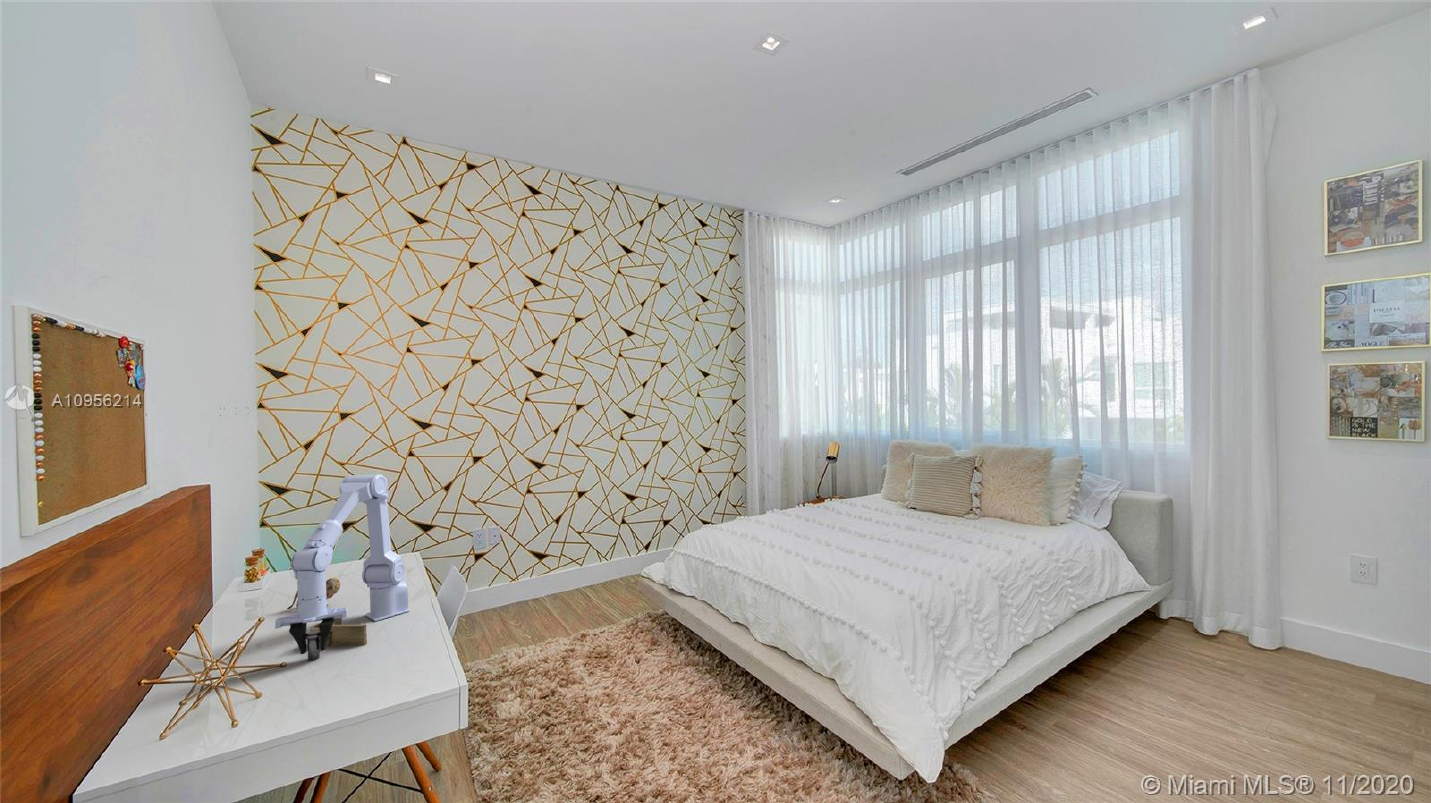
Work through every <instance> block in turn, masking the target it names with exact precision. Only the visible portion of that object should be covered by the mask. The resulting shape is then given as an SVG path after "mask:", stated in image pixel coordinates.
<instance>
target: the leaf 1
mask: <svg viewBox="0 0 1431 803" xmlns="http://www.w3.org/2000/svg"><path fill="white" fill-rule="evenodd" d="M342 621H343V618H342V617H341V618H335V620H334V625H343V622H342ZM329 638H332V632H329V635H328V639H329ZM319 641H321V636H319Z"/></svg>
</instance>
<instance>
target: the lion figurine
mask: <svg viewBox="0 0 1431 803" xmlns="http://www.w3.org/2000/svg"><path fill="white" fill-rule="evenodd" d="M340 589H341V582H340V579H338V578H336V577H332V578H329V579H326V600H328V599H332V598H333V596H334V595H335V594H337V593H338V592H339V590H340ZM295 603H296V604H295ZM295 605H296V606H295ZM294 606H295V608H297V609H298V590H297V591H296V592H295V595H294V598H293V602H292V604H291V605H290V606H288V607H287V608H286V610H291V609H292V608H293V607H294ZM327 607H329V604H327Z"/></svg>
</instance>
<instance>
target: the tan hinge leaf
mask: <svg viewBox="0 0 1431 803" xmlns="http://www.w3.org/2000/svg"><path fill="white" fill-rule="evenodd" d="M320 623H321V622H318V623H315V624H313V625H311V626H310V627H309V632H311V631H316V630H320V628H319V624H320ZM330 632H332V638H329V639H327V643H326V648H327V647H329V646H366V645H367V644H368V642H367V640H368V639H367V638H368V637H367V635H368V634H367V624H342V625H334V623H333V625H332V627H331V629H330ZM320 644H321V641H319V646H320Z"/></svg>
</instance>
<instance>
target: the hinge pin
mask: <svg viewBox="0 0 1431 803" xmlns="http://www.w3.org/2000/svg"><path fill="white" fill-rule="evenodd" d="M319 636H320V630H316V631H311V632H310V631H308V632H306V634H305V635H304V639H306V644H307V650H306V651H307V661H308V662H314V661H316V660H318V659H320V658H321V656H320V652H321V649H320V646H319Z"/></svg>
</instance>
